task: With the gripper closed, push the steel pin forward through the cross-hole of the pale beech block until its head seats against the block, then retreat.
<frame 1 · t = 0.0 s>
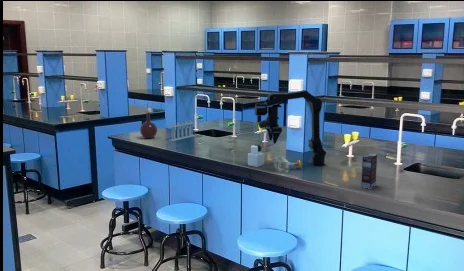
hand: (272, 141, 241), 15 cm above the counter, fingers open, 9 cm apart
test tube rack: (182, 138, 330), on the counter
medicine bottle: (255, 165, 247), on the counter
round-bottom flask: (149, 138, 330), on the counter
pin: (290, 164, 237), point 3 cm above the counter, slide at 0.0 cm
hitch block: (281, 169, 236), on the counter
supplement box: (368, 186, 206), on the counter
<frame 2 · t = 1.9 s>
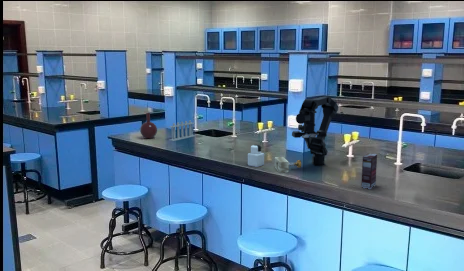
hand: (308, 148, 237), 12 cm above the counter, fingers closed
nothing on the counter moved.
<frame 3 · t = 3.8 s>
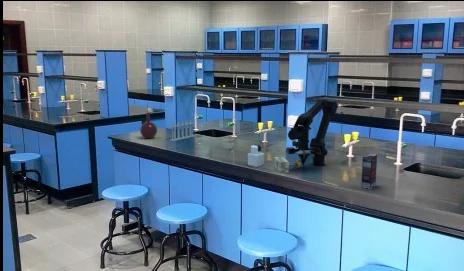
hand: (302, 164, 238), 2 cm above the counter, fingers closed
pin: (289, 164, 236), point 3 cm above the counter, slide at 0.3 cm, touching gripper
everything else where it was.
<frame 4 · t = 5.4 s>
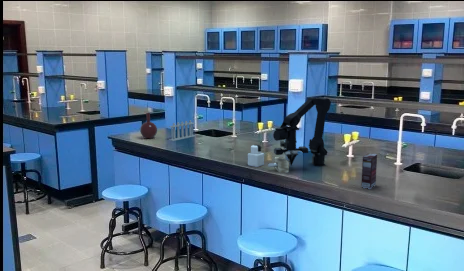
hand: (291, 165, 237), 2 cm above the counter, fingers closed
pin: (278, 164, 235), point 3 cm above the counter, slide at 7.0 cm, touching gripper, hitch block
everything else where it was.
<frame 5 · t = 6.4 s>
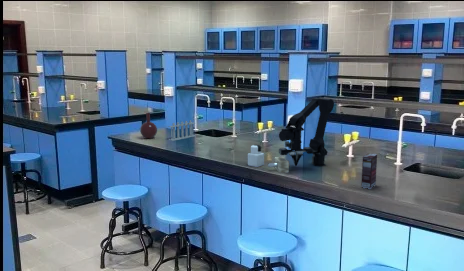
hand: (295, 165, 237), 2 cm above the counter, fingers closed
pin: (278, 164, 235), point 3 cm above the counter, slide at 7.0 cm, touching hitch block
everything else where it was.
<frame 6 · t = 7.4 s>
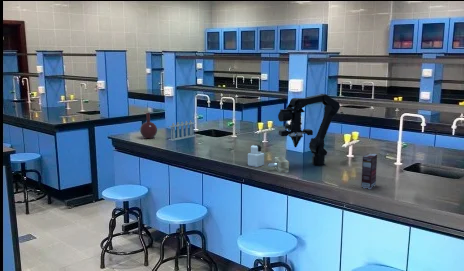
hand: (295, 147, 239), 12 cm above the counter, fingers closed
nothing on the counter moved.
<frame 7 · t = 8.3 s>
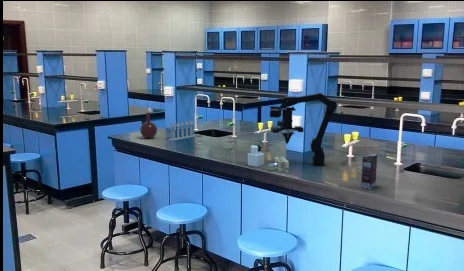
hand: (286, 143, 249), 12 cm above the counter, fingers closed
nothing on the counter moved.
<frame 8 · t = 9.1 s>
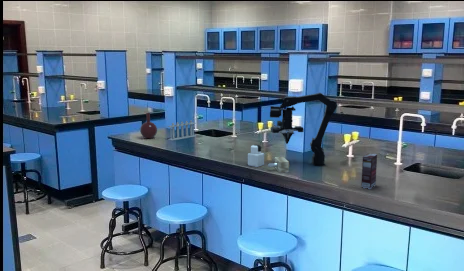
hand: (286, 143, 249), 12 cm above the counter, fingers closed
at the end: pin slide at 7.0 cm; the gripper is holding nothing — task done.
